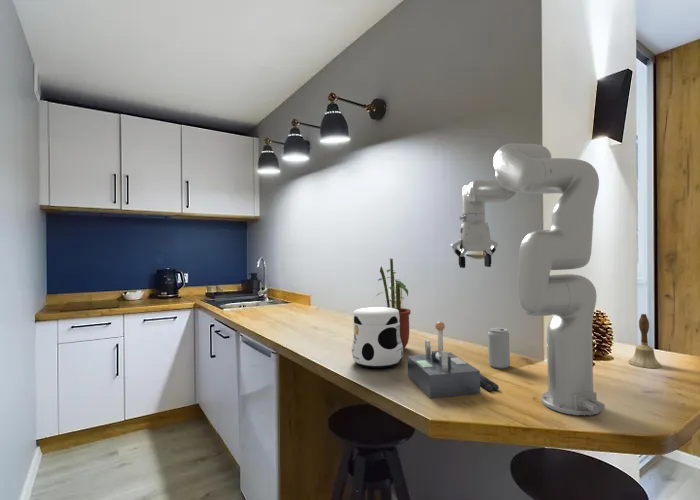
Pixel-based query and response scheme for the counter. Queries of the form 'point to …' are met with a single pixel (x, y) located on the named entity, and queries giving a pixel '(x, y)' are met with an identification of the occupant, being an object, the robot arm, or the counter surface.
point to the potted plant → (397, 303)
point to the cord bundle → (488, 383)
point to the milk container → (377, 337)
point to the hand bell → (644, 348)
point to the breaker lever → (439, 338)
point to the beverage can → (499, 348)
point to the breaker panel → (443, 374)
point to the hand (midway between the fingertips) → (475, 267)
